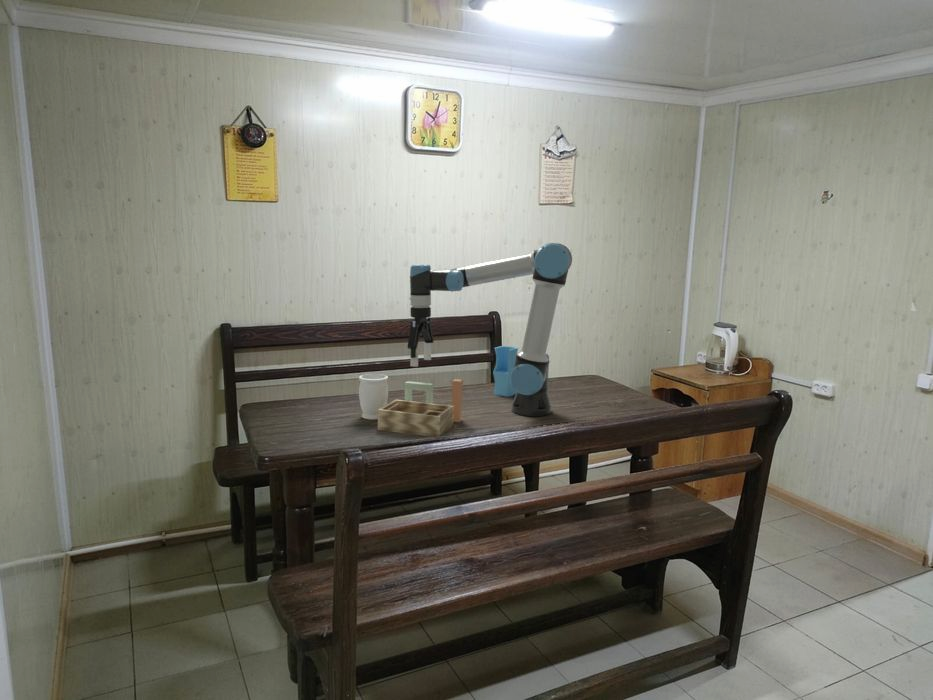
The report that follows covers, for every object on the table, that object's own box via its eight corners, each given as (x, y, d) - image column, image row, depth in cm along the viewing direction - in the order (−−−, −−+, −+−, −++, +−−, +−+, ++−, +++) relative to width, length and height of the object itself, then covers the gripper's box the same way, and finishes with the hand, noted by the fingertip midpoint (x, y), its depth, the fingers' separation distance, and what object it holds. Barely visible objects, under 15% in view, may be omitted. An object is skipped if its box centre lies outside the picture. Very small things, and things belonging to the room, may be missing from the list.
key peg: (461, 420, 228) (462, 379, 225) (459, 422, 225) (460, 381, 223) (453, 419, 229) (455, 379, 226) (451, 421, 226) (452, 380, 224)
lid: (456, 409, 242) (456, 383, 240) (445, 418, 230) (446, 390, 228) (409, 404, 247) (409, 378, 245) (396, 412, 236) (396, 385, 234)
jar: (374, 422, 222) (375, 381, 219) (352, 417, 227) (352, 377, 224) (393, 416, 231) (394, 376, 228) (372, 411, 236) (372, 372, 233)
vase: (492, 393, 268) (494, 347, 265) (501, 390, 275) (503, 345, 271) (508, 397, 264) (510, 350, 261) (517, 393, 270) (519, 347, 267)
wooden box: (453, 425, 222) (453, 405, 220) (438, 437, 208) (439, 417, 206) (395, 418, 228) (395, 399, 227) (377, 429, 214) (377, 409, 213)
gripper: (423, 303, 246) (423, 356, 249) (397, 309, 222) (398, 368, 226) (441, 303, 243) (441, 357, 247) (417, 310, 220) (418, 369, 223)
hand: (421, 363), depth 236 cm, fingers open, 13 cm apart
